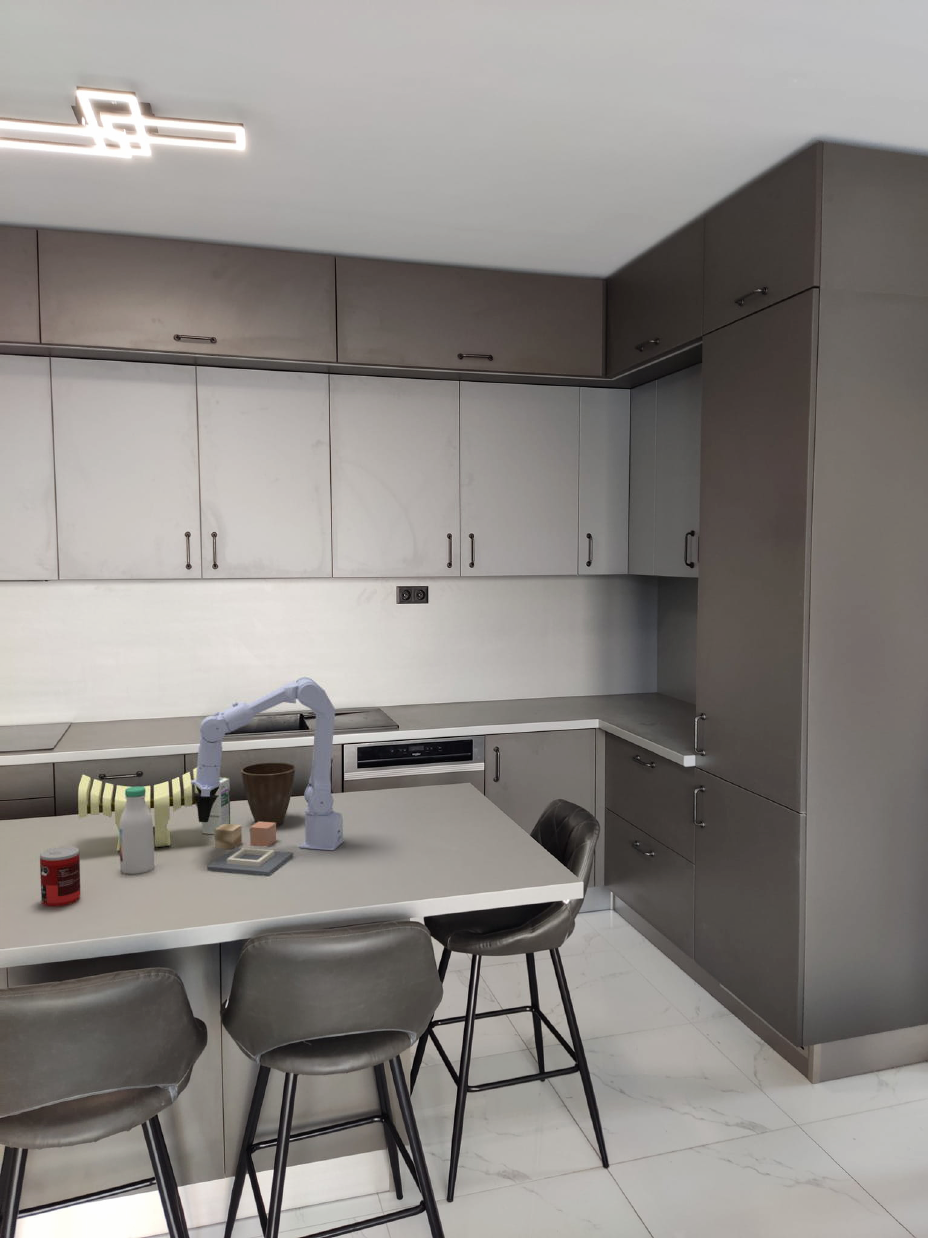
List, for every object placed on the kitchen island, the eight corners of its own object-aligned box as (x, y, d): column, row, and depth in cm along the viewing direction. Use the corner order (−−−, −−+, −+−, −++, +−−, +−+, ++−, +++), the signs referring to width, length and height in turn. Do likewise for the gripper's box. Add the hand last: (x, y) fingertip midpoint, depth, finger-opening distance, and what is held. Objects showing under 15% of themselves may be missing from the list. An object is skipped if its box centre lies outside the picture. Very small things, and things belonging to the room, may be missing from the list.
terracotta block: (276, 841, 234) (275, 822, 233) (267, 847, 229) (267, 828, 228) (259, 839, 235) (258, 821, 234) (250, 845, 230) (250, 827, 229)
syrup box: (221, 835, 238) (220, 782, 237) (201, 833, 239) (200, 781, 238) (230, 829, 243) (230, 777, 243) (211, 827, 245) (211, 776, 244)
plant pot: (231, 825, 247) (230, 769, 246) (270, 813, 259) (269, 759, 258) (267, 835, 238) (266, 777, 237) (306, 821, 250) (306, 766, 249)
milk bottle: (161, 866, 214) (159, 785, 213) (139, 876, 207) (137, 793, 206) (135, 862, 217) (133, 783, 216) (113, 872, 210) (111, 791, 208)
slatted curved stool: (80, 859, 219) (77, 789, 218) (84, 839, 234) (82, 774, 233) (204, 845, 229) (203, 779, 228) (201, 828, 244) (199, 765, 243)
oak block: (241, 843, 231) (241, 825, 231) (232, 849, 227) (232, 831, 226) (224, 842, 233) (224, 823, 232) (215, 848, 228) (214, 829, 227)
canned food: (49, 894, 196) (47, 846, 196) (85, 893, 197) (84, 845, 196) (35, 908, 189) (33, 858, 188) (73, 907, 189) (72, 857, 189)
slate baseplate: (292, 856, 221) (292, 848, 221) (268, 876, 208) (268, 867, 207) (235, 851, 225) (234, 843, 225) (207, 870, 211) (207, 861, 211)
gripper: (194, 757, 226) (190, 809, 226) (190, 770, 212) (185, 825, 212) (222, 758, 228) (218, 810, 228) (220, 771, 214) (215, 826, 214)
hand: (204, 817), depth 220 cm, fingers open, 7 cm apart
